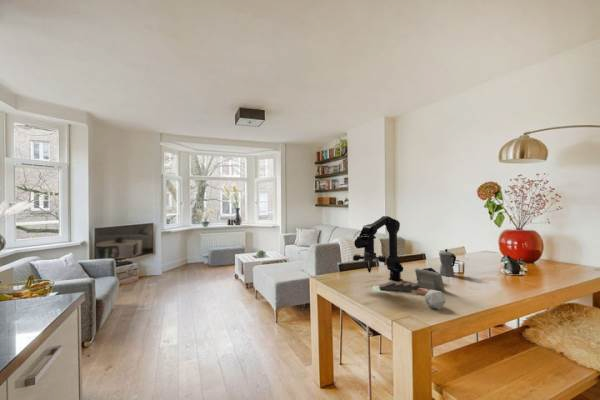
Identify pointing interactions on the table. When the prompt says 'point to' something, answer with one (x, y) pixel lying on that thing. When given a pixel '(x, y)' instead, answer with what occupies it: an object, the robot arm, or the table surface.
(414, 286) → the domino
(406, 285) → the domino
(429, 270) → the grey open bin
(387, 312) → the table surface
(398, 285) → the domino
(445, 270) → the coffeepot
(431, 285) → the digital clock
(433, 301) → the grey rock
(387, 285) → the domino
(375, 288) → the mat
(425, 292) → the domino
